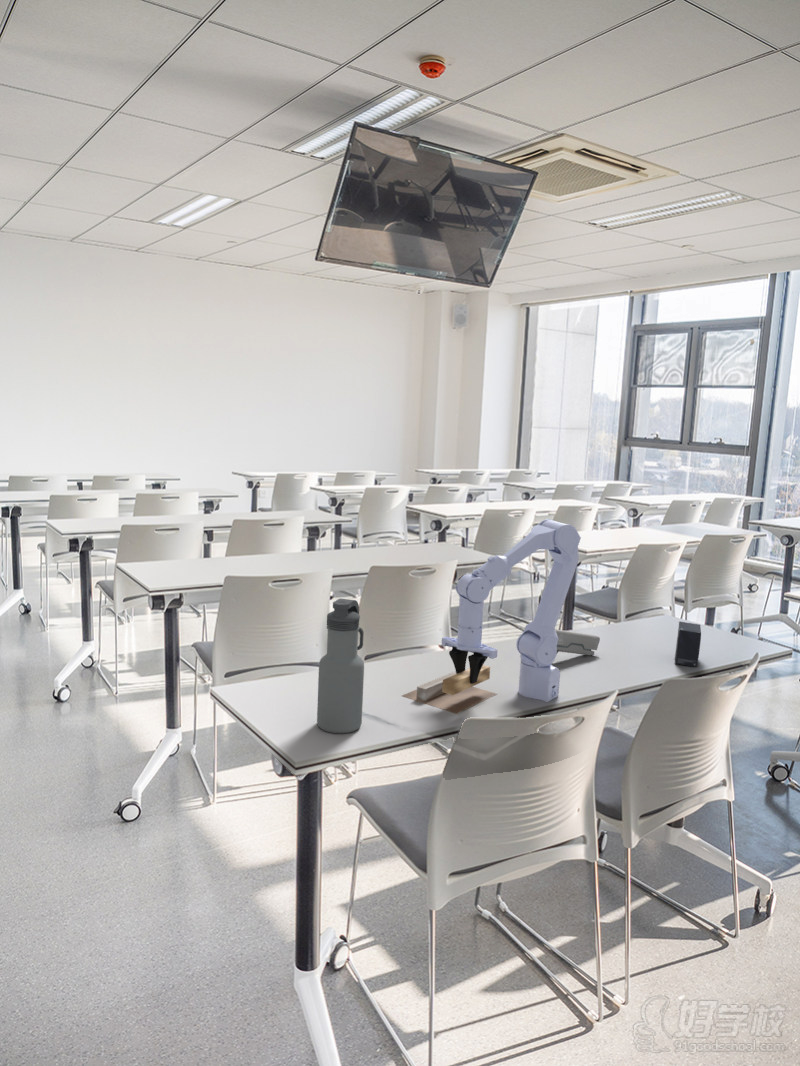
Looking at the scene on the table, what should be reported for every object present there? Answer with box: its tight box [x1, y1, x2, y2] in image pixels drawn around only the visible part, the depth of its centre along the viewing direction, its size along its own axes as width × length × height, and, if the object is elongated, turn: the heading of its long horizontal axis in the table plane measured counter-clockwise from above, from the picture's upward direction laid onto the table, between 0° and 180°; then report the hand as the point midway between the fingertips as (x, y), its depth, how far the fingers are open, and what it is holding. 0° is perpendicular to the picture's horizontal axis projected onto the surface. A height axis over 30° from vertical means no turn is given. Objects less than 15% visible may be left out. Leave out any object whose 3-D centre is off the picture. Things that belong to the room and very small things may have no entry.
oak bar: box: [442, 664, 491, 695], centre depth 193 cm, size 16×3×3 cm, turn 142°
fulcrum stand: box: [401, 671, 498, 714], centre depth 197 cm, size 16×18×4 cm
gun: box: [555, 628, 601, 656], centre depth 233 cm, size 2×25×10 cm, turn 125°
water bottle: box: [316, 598, 365, 734], centre depth 175 cm, size 10×10×28 cm
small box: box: [674, 621, 702, 668], centre depth 237 cm, size 11×6×10 cm, turn 161°
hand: (466, 680), depth 194 cm, fingers closed on oak bar, 3 cm apart
